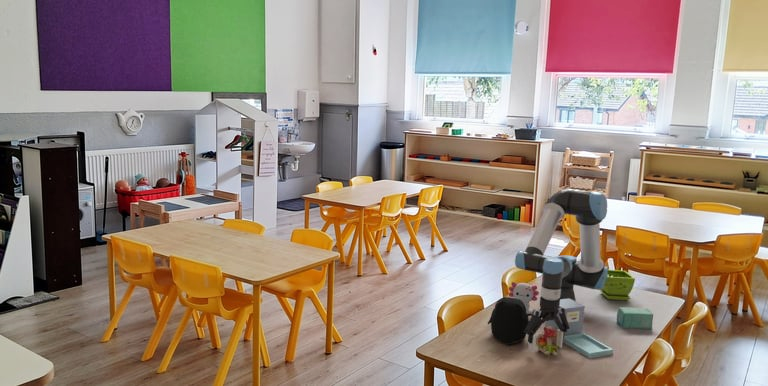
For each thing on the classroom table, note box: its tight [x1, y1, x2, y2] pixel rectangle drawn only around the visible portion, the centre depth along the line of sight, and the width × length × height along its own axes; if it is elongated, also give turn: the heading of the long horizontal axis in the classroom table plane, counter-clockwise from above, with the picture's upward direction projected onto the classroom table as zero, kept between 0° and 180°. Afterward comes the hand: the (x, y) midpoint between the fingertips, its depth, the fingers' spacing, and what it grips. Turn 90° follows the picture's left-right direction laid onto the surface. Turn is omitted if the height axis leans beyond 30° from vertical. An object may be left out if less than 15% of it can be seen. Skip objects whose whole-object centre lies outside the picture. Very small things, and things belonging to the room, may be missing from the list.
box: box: [616, 306, 654, 330], centre depth 280 cm, size 7×14×8 cm, turn 90°
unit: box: [544, 298, 586, 336], centre depth 268 cm, size 11×12×13 cm
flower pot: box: [599, 269, 636, 301], centre depth 317 cm, size 14×14×13 cm
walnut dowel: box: [546, 326, 558, 346], centre depth 258 cm, size 5×5×6 cm
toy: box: [508, 281, 540, 315], centre depth 287 cm, size 14×8×15 cm, turn 68°
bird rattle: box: [535, 326, 559, 357], centre depth 247 cm, size 6×11×9 cm
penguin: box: [487, 296, 530, 346], centre depth 259 cm, size 18×18×17 cm
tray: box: [562, 332, 614, 359], centre depth 255 cm, size 17×12×2 cm
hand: (545, 348), depth 247 cm, fingers open, 13 cm apart
